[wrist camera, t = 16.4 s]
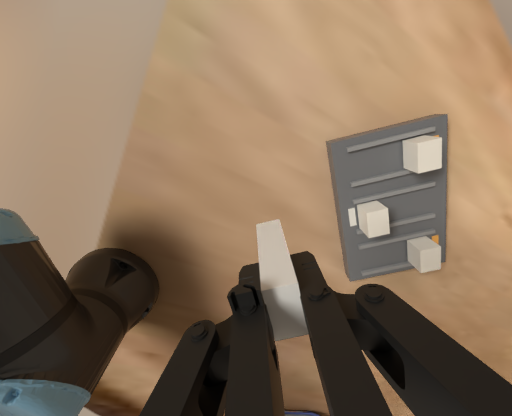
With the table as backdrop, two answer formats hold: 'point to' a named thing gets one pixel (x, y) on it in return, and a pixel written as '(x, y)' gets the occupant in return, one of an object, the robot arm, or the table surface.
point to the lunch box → (300, 413)
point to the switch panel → (387, 195)
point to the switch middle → (373, 219)
